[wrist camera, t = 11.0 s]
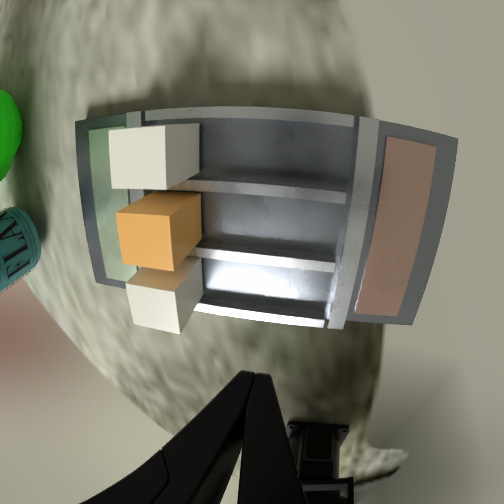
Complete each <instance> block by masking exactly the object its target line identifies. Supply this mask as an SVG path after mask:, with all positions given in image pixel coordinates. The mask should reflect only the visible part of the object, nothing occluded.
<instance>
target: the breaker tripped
mask: <svg viewBox="0 0 504 504" xmlns="http://www.w3.org/2000/svg"><path fill="white" fill-rule="evenodd" d="M116 221H117V228H118V236H119V243H120V249H121V256H122V262H123V264H127V265H134V266H140V267H147V268H154V269H160V270H167V271H175V269H176V268H177V267H178V266H179V265H180V264H181V262H182V261H183V260H184V259H185V258H186V256H187V255H188V254H189V253H190V252H191V251H192V249H193V248H194V247H195V246H196V245H197V244H198V242H199V241H200V240H201V239H202V229H201V193H188V192H166V191H154V192H152V193H150V194H148V195H146V196H144V197H142V198H141V199H139V200H137V201H135V202H133V203H131V204H130V205H128V206H126V207H124V208H122V209H121V210H119V211H117V212H116Z"/></svg>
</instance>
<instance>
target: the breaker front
mask: <svg viewBox="0 0 504 504" xmlns="http://www.w3.org/2000/svg"><path fill="white" fill-rule="evenodd" d="M109 155H110V171H111V184H112V189H156V190H167V189H169V188H171V187H173V186H175V185H176V184H178V183H180V182H182V181H184V180H186V179H188V178H190V177H192V176H194V175H195V174H197V173H199V123H190V124H166V125H150V126H140V127H132V128H124V129H116V130H109Z"/></svg>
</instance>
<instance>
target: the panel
mask: <svg viewBox="0 0 504 504" xmlns="http://www.w3.org/2000/svg"><path fill="white" fill-rule="evenodd" d="M190 123H199V173H197V174H195V175H194V176H192V177H190V178H188V179H186V180H184V181H182V182H180V183H178V184H176V185H175V186H173V187H171V188H169V189H167V190H156V189H112V184H111V171H110V155H109V130H116V129H124V128H132V127H140V126H150V125H166V124H190ZM75 135H76V154H77V167H78V178H79V188H80V196H81V204H82V211H83V218H84V225H85V231H86V237H87V242H88V247H89V253H90V258H91V262H92V267H93V272H94V276H95V280H96V283H100V284H105V285H110V286H115V287H120V288H125V289H126V284H125V283H126V282H127V281H128V280H129V279H130V278H131V277H132V276H133V275H134V274H135V273H136V272H137V271H138V270H139V269H140V268H141V267H140V266H134V265H127V264H123V262H122V256H121V249H120V243H119V236H118V228H117V221H116V212H117V211H119V210H121V209H122V208H124V207H126V206H128V205H130V204H131V203H133V202H135V201H137V200H139V199H141V198H142V197H144V196H146V195H148V194H150V193H152V192H154V191H166V192H188V193H201V229H202V239H201V240H200V241H199V242H198V244H197V245H196V246H195V247H194V248H193V249H192V251H191V252H190V253H189V254H188V255H187V256H194V257H201V260H202V281H203V296H202V297H201V299H200V301H199V302H198V304H197V306H196V308H195V309H194V310H196V311H202V312H208V313H214V314H220V315H227V316H233V317H240V318H247V319H254V320H262V321H269V322H277V323H285V324H294V325H303V326H312V327H322V328H323V326H324V321H325V318H326V319H327V323H328V328H332V329H343V327H344V324H345V320H347V321H358V322H371V323H384V324H400V325H412V324H413V321H414V318H415V316H416V313H417V310H418V308H419V305H420V302H421V299H422V296H423V294H424V291H425V288H426V285H427V282H428V278H429V276H430V272H431V269H432V266H433V262H434V259H435V256H436V252H437V248H438V245H439V241H440V237H441V233H442V229H443V225H444V220H445V216H446V212H447V207H448V202H449V197H450V192H451V185H452V180H453V174H454V167H455V161H456V153H457V144H458V139H457V138H454V137H450V136H446V135H443V134H439V133H435V132H432V131H427V130H423V129H419V128H414V127H410V126H405V125H401V124H396V123H391V122H386V121H380V120H379V119H374V118H368V117H361V116H358V117H356V116H354V115H348V114H340V113H332V112H324V111H314V110H303V109H290V108H274V107H245V106H215V107H186V108H169V109H157V110H146V111H136V112H128V113H125V114H118V115H111V116H104V117H97V118H91V119H86V120H80V121H75Z"/></svg>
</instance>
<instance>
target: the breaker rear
mask: <svg viewBox="0 0 504 504" xmlns="http://www.w3.org/2000/svg"><path fill="white" fill-rule="evenodd" d="M125 284H126V289H127V294H128V299H129V304H130V308H131V313H132V317H133V322H134V324H137V325H141V326H145V327H150V328H154V329H158V330H163V331H167V332H172V333H177V334H180V333H181V332H182V330H183V328H184V326H185V325H186V323H187V321H188V320H189V318H190V316H191V314H192V313H193V311H194V309H195V308H196V306H197V304H198V302H199V301H200V299H201V297H202V296H203V281H202V260H201V257H194V256H186V258H185V259H184V260H183V261H182V262H181V264H180V265H179V266H178V267H177V268H176V269H175V271H167V270H160V269H154V268H147V267H141V268H140V269H139V270H138V271H137V272H136V273H135V274H134V275H133V276H132V277H131V278H130V279H129V280H128V281H127V282H126V283H125Z"/></svg>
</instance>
